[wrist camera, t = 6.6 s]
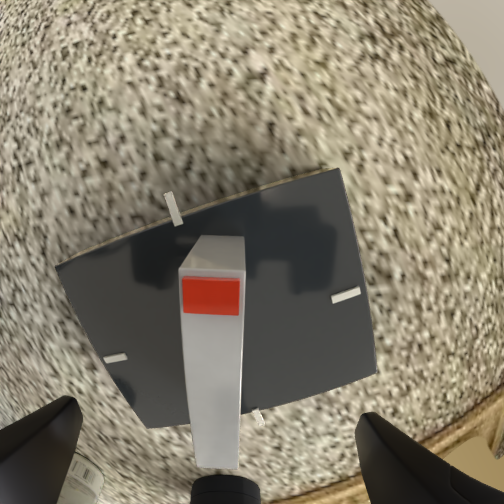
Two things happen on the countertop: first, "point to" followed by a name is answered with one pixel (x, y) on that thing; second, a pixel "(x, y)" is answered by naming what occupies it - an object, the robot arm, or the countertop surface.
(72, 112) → the countertop surface
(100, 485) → the spray can
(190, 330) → the knob
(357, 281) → the block
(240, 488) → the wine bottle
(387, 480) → the robot arm
